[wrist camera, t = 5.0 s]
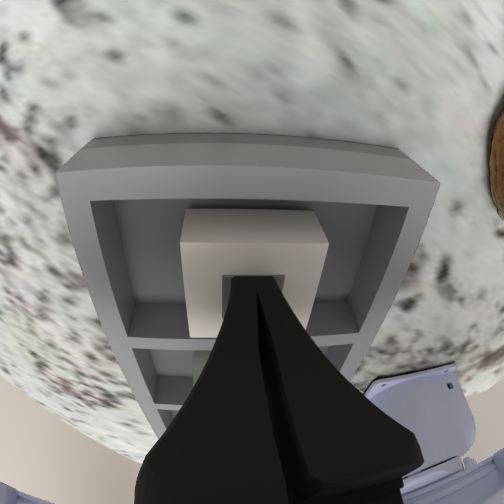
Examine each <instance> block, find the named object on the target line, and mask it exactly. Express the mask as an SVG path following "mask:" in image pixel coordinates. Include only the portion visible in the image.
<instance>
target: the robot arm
mask: <svg viewBox="0 0 504 504" xmlns="http://www.w3.org/2000/svg"><path fill="white" fill-rule="evenodd" d="M456 369H457V364H456V363H454V364H450V365H446V366H442V367H438V368H434V369H429V370H425V371H420V372H416V373H411V374H406V375H401V376H396V377H390V378H385V379H379V380H376V381H374V382H373V383H372V384H371V386H370V387H369V389H368V390H367V391H366V393H365V394H364V395H363V394H362V393H361V392H360V391H359V390H358V389H357V388H355V387H354V386H353V385H352V384H351V383H350V382H349V381H348V380H347V379H346V378H345V377H344V376H343V375H342V374H341V373H340V372H339V371H338V370H337V368H336V367H335V366H334V365H333V364H332V363H331V362H330V361H329V359H328V358H327V357H326V356H325V355H324V354H323V352H322V351H321V350H320V349H319V347H318V346H317V345H316V343H315V342H314V341H313V339H312V338H311V337H310V335H309V334H308V333H307V331H306V330H305V328H304V327H303V326H302V324H301V323H300V321H299V320H298V318H297V317H296V315H295V314H294V312H293V310H292V309H291V307H290V305H289V304H288V302H287V300H286V299H285V297H284V295H283V293H282V292H281V290H280V288H279V286H278V284H277V282H276V280H275V278H274V277H273V276H234V277H233V278H232V279H231V292H230V297H229V301H228V306H227V309H226V313H225V316H224V319H223V322H222V325H221V328H220V331H219V333H218V336H217V339H216V341H215V344H214V346H213V349H212V351H211V353H210V355H209V358H208V360H207V362H206V364H205V366H204V368H203V370H202V372H201V374H200V376H199V378H198V380H197V381H196V383H195V385H194V387H193V389H192V390H191V392H190V394H189V396H188V397H187V399H186V401H185V402H184V404H183V405H182V407H181V408H180V410H179V411H178V413H177V414H176V416H175V417H174V419H173V420H172V422H171V423H170V425H169V426H168V428H167V429H166V431H165V432H164V433H163V435H162V436H161V437H160V438H159V440H158V441H157V442H156V444H155V445H154V446H153V447H152V449H151V450H150V451H149V452H148V454H147V455H146V457H145V459H144V461H143V464H142V467H141V469H140V471H139V474H138V477H137V481H136V486H135V500H134V504H504V448H503V449H501V450H500V451H498V452H496V453H495V454H494V455H493V456H491V457H489V458H487V459H486V460H484V461H482V462H480V463H478V464H477V462H476V460H475V459H472V458H471V459H470V458H469V457H466V458H465V459H463V462H464V465H465V470H464V467H463V464H462V461H461V458H460V457H461V456H463V455H464V454H466V453H467V452H468V451H469V450H470V448H471V447H472V445H473V443H474V440H475V433H476V431H475V430H476V428H475V421H474V418H473V415H472V413H471V410H470V408H469V405H468V403H467V401H466V398H465V396H464V394H463V392H462V389H461V387H460V385H459V383H458V380H457V378H456V376H455V374H454V371H455V370H456ZM0 504H54V503H51V502H47V501H45V500H42V499H39V498H36V497H33V496H30V495H28V494H25V493H23V492H20V491H18V490H16V489H15V488H13V487H11V486H8V485H6V484H4V483H2V482H0Z"/></svg>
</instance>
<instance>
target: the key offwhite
mask: <svg viewBox="0 0 504 504" xmlns="http://www.w3.org/2000/svg"><path fill="white" fill-rule="evenodd" d="M328 246H329V242H328V240H327V238H326V236H325V233H324V231H323V229H322V227H321V225H320V223H319V220H318V218H317V216H316V214H315V212H314V211H306V210H271V209H186V212H185V217H184V222H183V228H182V233H181V239H180V250H181V261H182V272H183V282H184V291H185V300H186V309H187V317H188V325H189V333H190V337H194V338H217V336H218V333H219V331H220V328H221V325H222V322H223V319H224V316H225V313H226V309H227V306H228V301H229V297H230V292H231V279H232V278H233V277H234V276H273V277H274V278H275V280H276V282H277V284H278V286H279V288H280V290H281V292H282V293H283V295H284V297H285V299H286V300H287V302H288V304H289V305H290V307H291V309H292V310H293V312H294V314H295V315H296V317H297V318H298V320H299V321H300V323H301V324H302V326H303V327H304V328H305V330H306V327H307V324H308V320H309V317H310V313H311V310H312V306H313V303H314V299H315V296H316V292H317V288H318V285H319V281H320V277H321V273H322V270H323V266H324V262H325V258H326V254H327V250H328Z"/></svg>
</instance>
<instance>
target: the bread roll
mask: <svg viewBox="0 0 504 504" xmlns="http://www.w3.org/2000/svg"><path fill="white" fill-rule="evenodd" d="M489 166H490V183H491V193H492V199H493V200H494V202H495V204H496V205H497V207H498V209H499V210H498V211H497V213H498V215H500V217H501V218H502V220H503V221H504V108H503V109H502V112H501V114H500V116H499V117H498V119H497V121H496V124H495V127H494V130H493V140H492V151H491V156H490V161H489Z"/></svg>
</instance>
